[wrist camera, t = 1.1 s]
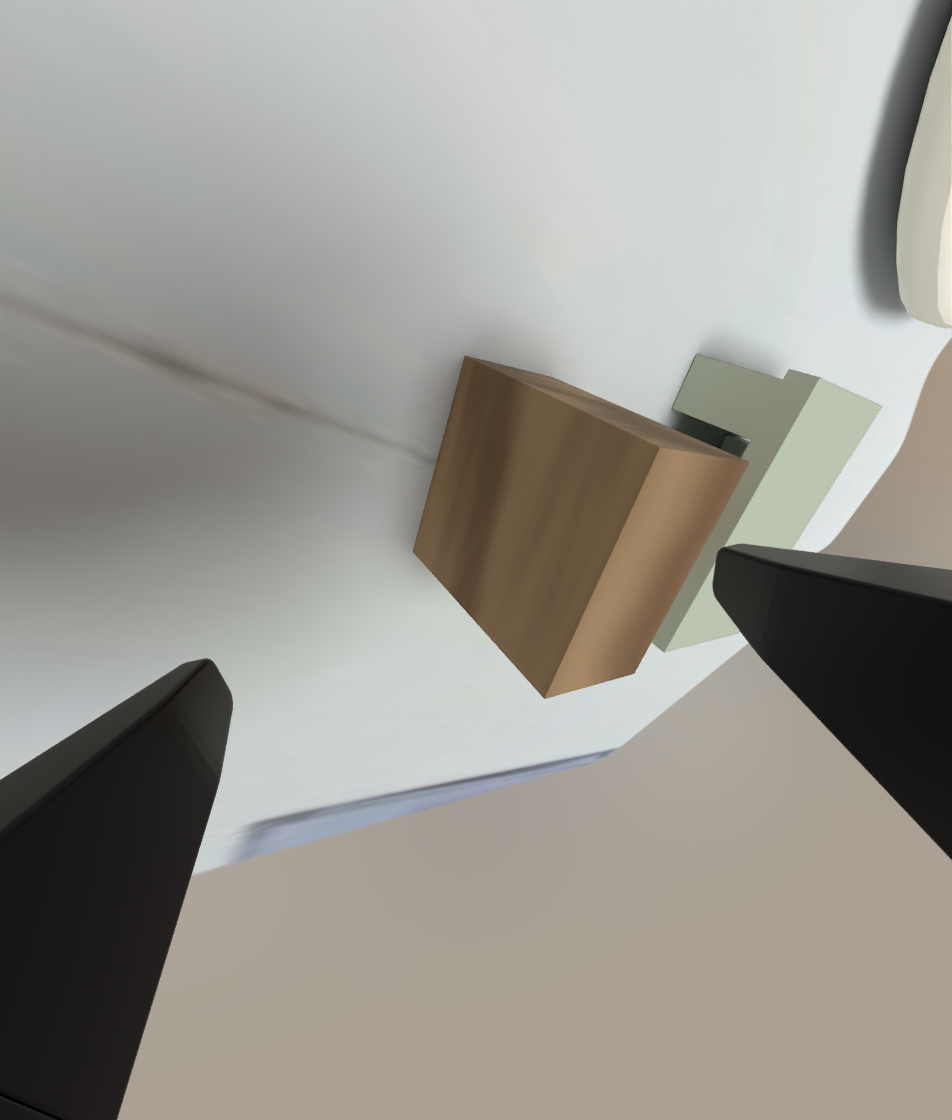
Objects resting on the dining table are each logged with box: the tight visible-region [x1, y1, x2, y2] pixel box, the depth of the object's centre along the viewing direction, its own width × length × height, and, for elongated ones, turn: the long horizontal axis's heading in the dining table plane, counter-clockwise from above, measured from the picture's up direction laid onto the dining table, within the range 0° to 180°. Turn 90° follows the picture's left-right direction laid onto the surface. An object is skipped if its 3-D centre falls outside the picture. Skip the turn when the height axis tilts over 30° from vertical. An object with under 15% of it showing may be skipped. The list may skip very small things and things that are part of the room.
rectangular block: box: [413, 356, 750, 699], centre depth 23 cm, size 13×9×10 cm
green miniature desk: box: [652, 354, 883, 653], centre depth 31 cm, size 9×16×6 cm, turn 160°
